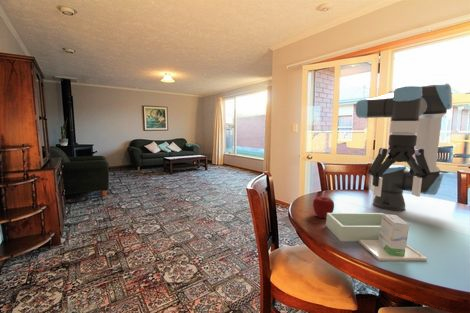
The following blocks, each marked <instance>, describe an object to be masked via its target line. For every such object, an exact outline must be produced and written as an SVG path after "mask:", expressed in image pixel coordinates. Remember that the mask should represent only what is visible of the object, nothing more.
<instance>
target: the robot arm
mask: <svg viewBox="0 0 470 313" xmlns="http://www.w3.org/2000/svg"><path fill="white" fill-rule="evenodd" d="M452 107H453V96H452V87H451V85H450V84H449V83H444V82H443V83H429V84H421V85H404V86H403V85H402V86H398V87H396V88H395V89H393V90H391V91H388V92H387V93H386V94H384V95H381V96H377V97H373V98H364V99H359V100H358V101H357V102H356V104H355V116H356V117H358V118H359V119H360V118H362V119H368V118H373V119H374V118H377V119H378V118H390V127H389V128H390V129H389V132H390V135H389V137H388V145H389V147H388V148H385V147H380V148H379V150H378V154H377V156H376V157H375V159H374V161H373V162H372V164H371V166H370V167H369V169H368V171H367V175H370V176H372V186H374V187H373V195H375V196H374V197H373V200H372V204H373V205H374V206H375V207H378V208H380V209H385V210H387V211H388V210H389V211H390V210H391V211H405V210H406V201H405V198H404V192H405V191H407V192H411V195H413V196H415V197H418V198H419V197H421V194H422V195H429V196H434V195H437V194H438V192H439V189H440V187H441V184H442V181H443V178H444V173H443V172H441V169H440V167H439V166H437V161H438V160H437V159H438V154H439V143H440V134H441V126H442V124H441V123H442V117H443V116H445V115H446V114H447V110H451V109H452ZM387 155H388V156H387ZM396 162H397V163H401V162H404V163H407V166H409V168H407V166H406V165H403V164H402V165H399V164H395V163H396ZM393 164H394V165H393Z"/></svg>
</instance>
